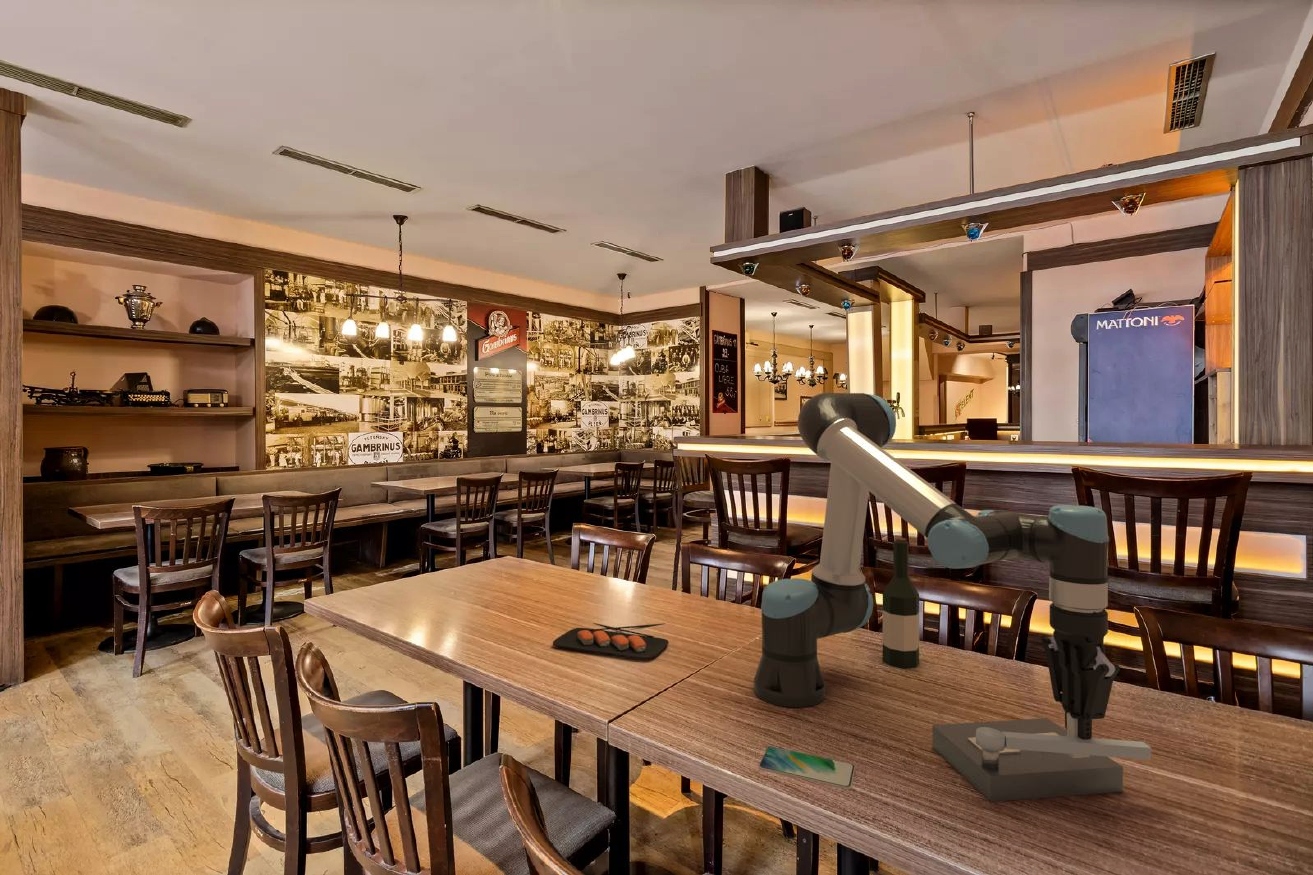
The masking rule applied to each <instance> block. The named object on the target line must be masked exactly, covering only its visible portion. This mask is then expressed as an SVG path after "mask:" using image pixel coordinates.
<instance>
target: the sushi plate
mask: <svg viewBox="0 0 1313 875" xmlns="http://www.w3.org/2000/svg"><path fill="white" fill-rule="evenodd" d="M593 625H596V626H599V627H602V628H589V627H574V628H572V629H570V630H568V631H567V632H565V633H563V634H561V635H559V637H557V638H555V639H554V640H553V642H552V645H553V646H556V647H559V648H564V649H565V648H566V649H569V650H570V649H571V650H578V651H584V652H592V653H596V654H597V653H598V654H603V655H609V656H611V655H612V656H615V657H616V656H617V657H625V658H632V659H640V660H650V659H653V658H656V656H658V655H659V654H660V653H661V652H662V651H664V650H665V648H666V647H668V645H669V642H670V641H669V640H668V639H666V638H661V637H655V636H654V635H650V634H645V633H642V632H636V631H630V630H627V629H637V628H650V627H655V626H656V627H657V626H661V625H666V623H652V624H642V625H631V626H617V627H616V626H615V627H614V626H610V625H604V624H602V623H601V624H600V623H595V622H593ZM610 630H611V631H610ZM612 630H614V631H612ZM618 631H619V632H618Z"/></svg>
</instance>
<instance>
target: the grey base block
mask: <svg viewBox="0 0 1313 875" xmlns="http://www.w3.org/2000/svg"><path fill="white" fill-rule="evenodd" d="M980 727H988V728H993V729H996V730H998V731H1000V732H1014V733H1028V734H1042V735H1056V736H1067V730H1066V728H1063V727H1061V725H1059V724H1057V723H1056V722H1054V721H1053V720H1051V719H1050V718H1047V717H1046V718H1045V717H1043V718H1027V719H1024V718H1023V719H1009V720H996V721H978V722H975V721H974V722H962V723H960V722H959V723H946V724H945V723H944V724H943V723H942V724H932V748H933V749H934V750H935V752H937V753H938V754H939V755H940V756H941V757H942V758H944V760H945V761H946V762H947V763H948V764H950V766H952V767H953V768H954V769H955V770H956V772H958V773H959V774H960V775H962V777H964V779H966V780H967V781H968V782H969V783H970V784H971V785H972V786H973V788H975V789H976V790H977V791H978V792H979V793H980V794H982V796H984V797H985V798H986V800H988V801H989V802H990V803H993V802H1004V801H1005V802H1006V801H1007V802H1008V801H1019V800H1033V799H1046V798H1061V797H1074V796H1086V795H1088V796H1089V795H1101V794H1113V793H1123V790H1124V789H1123V788H1124V785H1123V784H1124V783H1123V782H1124V779H1123V778H1124V775H1123V773H1124V766H1122V764H1120V763H1118V762H1116V761H1115V760H1114V759H1112V758H1110V757H1107V756H1094V755H1090V757H1083V758H1073V757H1071V756H1070V755H1068V754H1067V753H1055V752H1042V751H1029V750H1016V749H1006V748H1005V749H1004V750H1003V751H989V750H986V749H983V748H981V747H980V746H978V745H977V744H976V729H977V728H980Z"/></svg>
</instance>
